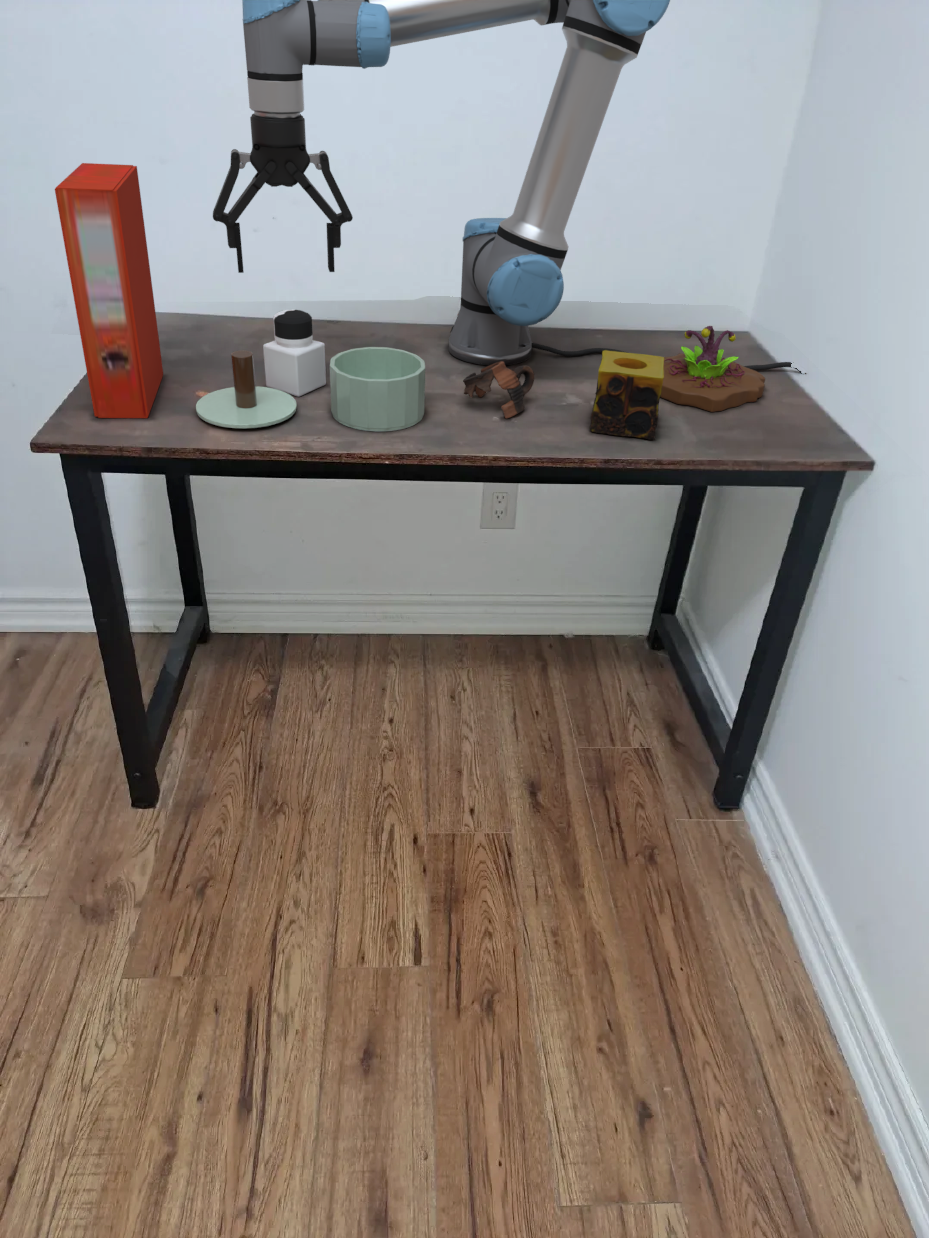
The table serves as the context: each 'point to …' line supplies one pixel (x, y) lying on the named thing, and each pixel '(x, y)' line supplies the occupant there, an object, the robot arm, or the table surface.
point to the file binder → (112, 287)
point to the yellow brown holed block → (628, 395)
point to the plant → (709, 376)
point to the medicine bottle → (294, 355)
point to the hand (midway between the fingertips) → (286, 270)
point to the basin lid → (245, 400)
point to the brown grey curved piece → (502, 384)
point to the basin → (377, 388)
